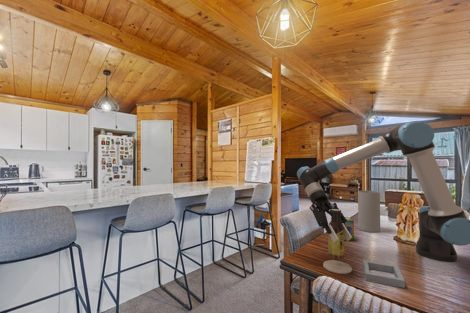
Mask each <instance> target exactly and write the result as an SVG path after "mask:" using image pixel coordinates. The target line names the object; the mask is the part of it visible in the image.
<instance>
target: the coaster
mask: <svg viewBox="0 0 470 313" xmlns="http://www.w3.org/2000/svg"><path fill="white" fill-rule="evenodd" d="M322 265H323V268H324V269H325V270H326V271H328V272H331V273H334V274H338V275H347V274H351V273H352V272H353V267H352V266H351V265H350V264H348V263H346V262H344V261H341V260H337V259H331V260H329V259H328V260H325V261H324V262H323V263H322Z"/></svg>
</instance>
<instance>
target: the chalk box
mask: <svg viewBox="0 0 470 313" xmlns="http://www.w3.org/2000/svg"><path fill="white" fill-rule="evenodd" d="M344 217H345V218H346V220H347V222H346V223H345V225H346V227H347V228H348V231H349V233H350V235H351V236H352V238H351V239H350V240H349V241H355V226H354V225H355V224H354V221H355V220H354V219H352V218H350V217H349V216H344ZM344 241H347V240H346V238H345V236H344Z"/></svg>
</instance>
